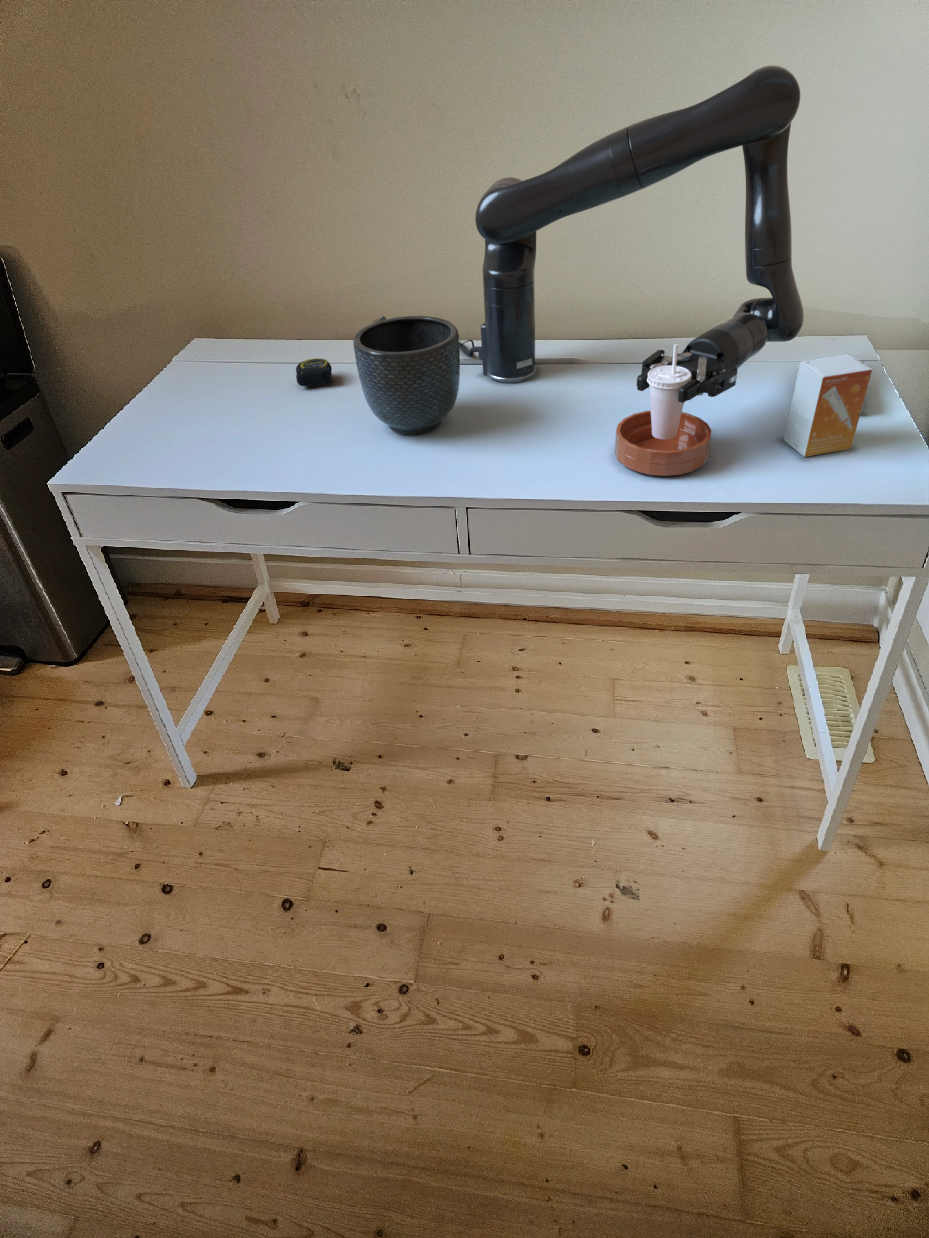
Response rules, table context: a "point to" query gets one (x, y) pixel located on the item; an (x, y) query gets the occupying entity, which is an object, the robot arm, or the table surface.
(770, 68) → the robot arm
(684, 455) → the bowl
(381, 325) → the planter
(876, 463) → the table surface
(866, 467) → the table surface
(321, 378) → the tape measure
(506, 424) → the table surface
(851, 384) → the small box
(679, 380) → the smoothie
